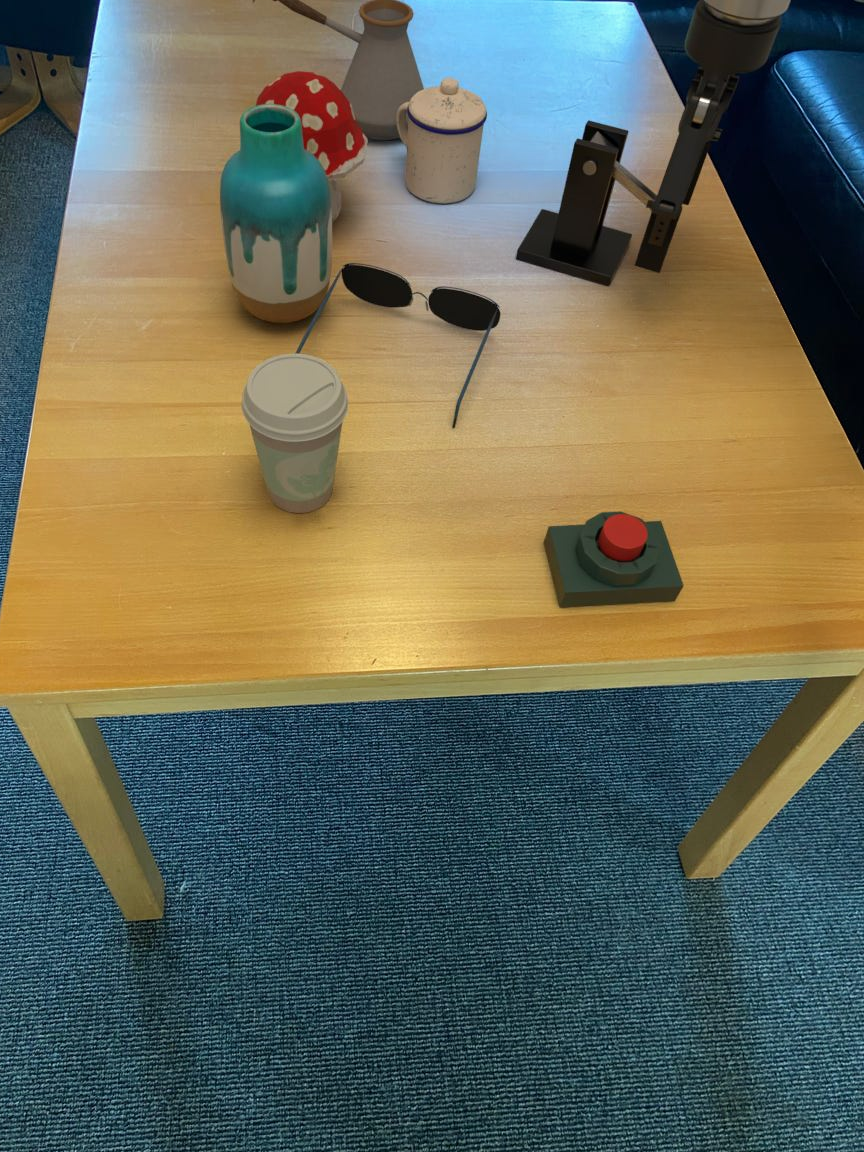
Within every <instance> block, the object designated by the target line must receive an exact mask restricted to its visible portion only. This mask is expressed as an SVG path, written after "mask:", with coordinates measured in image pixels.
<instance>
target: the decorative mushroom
mask: <svg viewBox="0 0 864 1152" xmlns="http://www.w3.org/2000/svg"><path fill="white" fill-rule="evenodd" d="M263 104H276V105H282V106H286V107H288V108H290V109H292V110H294V111H295V112H296V113H297V114H298V115H299V117H300V119H301V124H302V135H303V144H304V149H305V150H307V151H308V152H310V153H311V154H313V155H314V156H315V157H316V158H317V159H318V160H319V161H320V163H321V164H322V166H323V168H324V170H325V173H326V176H327V179H328V184H329V190H330V198H331V212H332V224H333V223H334V222H335V221H336V219H337V218H338V217H339V215H340V212H341V206H342V195H341V190H340V187H339V186H338V184H337V182H336V181H335V180H339V179H345V178H346V177H347V176H348V175H350V174H351V173H352V172H353V171H356V169H358V168H359V167H360V166H361V165H362V164H364V162H365V159H366V156H367V155H366V154H367V149H368V140H369V138H368V137H366V136H365V135H364V134H363V132H362V131H361V129H360V128H359V126H358V125H357V122H356V119H355V115H354V111H353V108H352V105H351V103H350V102H349V101H348V99H347V98H346V96H345V95H344V94H343V93H342V91H341V88H339V87H338V85H336V83H334V82H333V81H332V80H330V79H329V78H328V77H326V76H324V75H321V74H319V73H316V72H313V71H300V70H297V71H291V72H286V73H283V74H282V75H280V76H279V77H277V78H275V79H274V80H273V81H271V82H270V83H269V84H267V85H266V86H265V87H264V88H263V89H262V90H261V92H260V94H259V95H258V97H257V99H256V101H255V105H254V106H258V105H263Z"/></svg>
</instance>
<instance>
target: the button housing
mask: <svg viewBox="0 0 864 1152" xmlns="http://www.w3.org/2000/svg"><path fill="white" fill-rule="evenodd" d="M617 514H626V515H630V516H633V517H635V518H637V519H638V520H640V521H641V522H642V523H643V524H644V525H645V527H646V529H647V533H648V537H647V540H646V542H645V544H644V546H643V549H642V551H641V553H640V554H639V556H638V557H636V558H635V559H633V560H631V561H616V560H613V559H611V558H609V557H608V556H606V555H605V554H604V553H603V552H602V551H601V549H600V547H599V544H598V538H599V535H600V533H601V530H602V528H603V525H604V523H605V521H606V520H607V519H608V518H610V517H611V516H614V515H617ZM543 546H544V550H545V553H546V557H547V561H548V566H549V569H550V574H551V578H552V582H553V585H554V589H555V593H556V598H557V601H558V606H559V608H576V607H593V606H595V607H596V606H611V605H627V604H629V605H630V604H645V603H647V604H648V603H662V602H676V600H677V599H678V597H679V595H680V594H681V592H682V590H683V588H684V587H685V586H684V582H683V580H682V576H681V574H680V571H679V568H678V565H677V562H676V559H675V556H674V554H673V551H672V548H671V545H670V542H669V539H668V536H667V534H666V531H665V528H664V525H663V522H662V520H647V521H645V520H644V519H642V518H641V517H638V516H635V515H632V514H629V513H626V512H623V511H601V512H600V513H597V514H596V515H595V516H593V517H591V518H589V519H588V520H586V521H585V522H584V524H568V525H566V524H565V525H549V526H548V527H547V530H546V534H545V536H544V539H543Z"/></svg>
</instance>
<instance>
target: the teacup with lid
mask: <svg viewBox="0 0 864 1152" xmlns="http://www.w3.org/2000/svg"><path fill="white" fill-rule="evenodd" d="M406 111H407V114H408V116H409V122H408V129H407V126H406ZM487 119H488V111H487V106H486V105H485V103H484V100H482V99H481V97H480V96H479V95H477V94H476V93H474V92H472V91H471V90H467V89H465V88H461V87H460V84H459V81H458V80H457V79H455V78H453V77H445V78H443V79H442V80H441V82H440V85H436V86H430V87H426V88H424V89H423V90H421V91H419V92H417V93H416V94H415V95H414V96H413V97H412V98H411V100H410V102H406V103H404V104H402V105H401V106H400V107H399V109H398V111H397V118H396V120H397V128H398V132H399V135H400V138H399V139H400V140H401V142H402V144H404V146H405V147H406V155H405V171H404V173H405V174H404V183H405V187H406V188H407V189H408V191H409V192H410V193H411V194H412V195H414V196H415V197H416V198H418V199H420V200H423V201H426V202H428V203H433V204H453V203H458V202H461V201H463V200H465V199H467V198H468V197H470V196H471V195H472V193H473V192H475V191H474V190H475V188H476V184H477V179H478V170H479V162H480V156H481V155H480V154H481V147H482V142H483V141H482V140H483V133H484V126H485V124H486V121H487Z"/></svg>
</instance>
